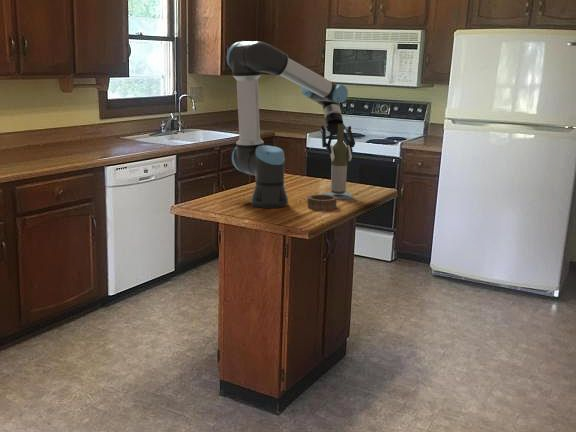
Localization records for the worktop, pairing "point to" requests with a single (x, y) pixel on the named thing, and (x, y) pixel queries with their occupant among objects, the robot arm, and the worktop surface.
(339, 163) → the bottle
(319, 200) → the ring stand
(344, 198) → the mat
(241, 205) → the worktop surface
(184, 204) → the worktop surface
